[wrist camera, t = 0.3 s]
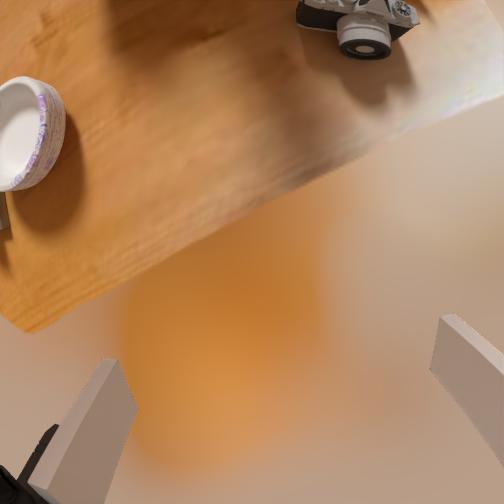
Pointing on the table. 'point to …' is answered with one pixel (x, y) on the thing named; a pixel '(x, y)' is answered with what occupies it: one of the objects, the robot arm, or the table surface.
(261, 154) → the table surface
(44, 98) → the paper bowls
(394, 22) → the camera
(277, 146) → the table surface
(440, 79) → the table surface
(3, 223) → the panel
